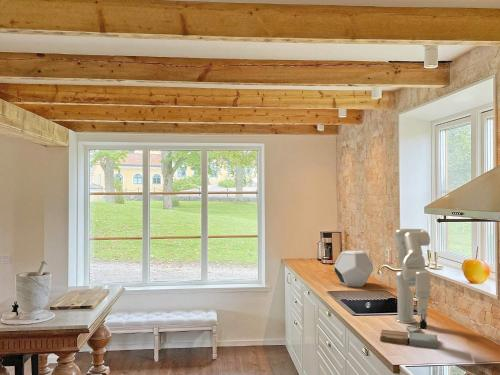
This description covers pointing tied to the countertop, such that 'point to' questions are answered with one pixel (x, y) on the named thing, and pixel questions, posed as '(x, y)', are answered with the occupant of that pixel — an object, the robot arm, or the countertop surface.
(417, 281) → the robot arm
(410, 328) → the stone
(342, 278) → the dodecahedron
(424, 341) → the slate stand
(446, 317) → the countertop surface
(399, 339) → the walnut stand
